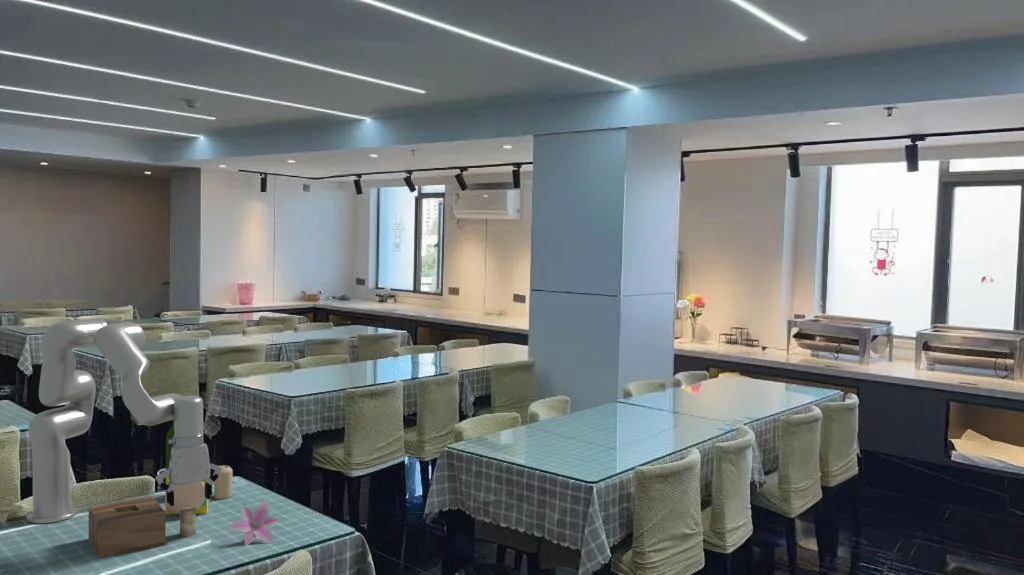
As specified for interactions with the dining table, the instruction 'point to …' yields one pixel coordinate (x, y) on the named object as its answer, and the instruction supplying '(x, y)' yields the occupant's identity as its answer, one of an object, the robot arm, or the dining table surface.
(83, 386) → the robot arm
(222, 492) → the candle
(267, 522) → the lily
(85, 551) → the dining table surface
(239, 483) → the dining table surface
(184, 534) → the maple peg
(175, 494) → the hamburger
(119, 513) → the tan square tile
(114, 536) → the socket block
